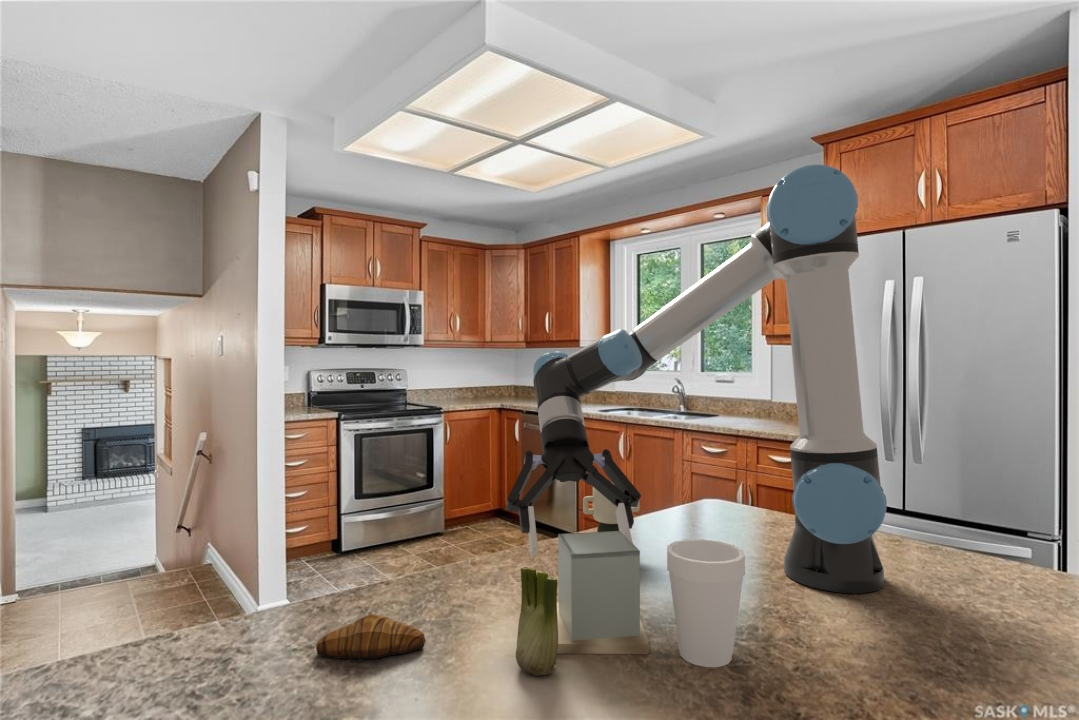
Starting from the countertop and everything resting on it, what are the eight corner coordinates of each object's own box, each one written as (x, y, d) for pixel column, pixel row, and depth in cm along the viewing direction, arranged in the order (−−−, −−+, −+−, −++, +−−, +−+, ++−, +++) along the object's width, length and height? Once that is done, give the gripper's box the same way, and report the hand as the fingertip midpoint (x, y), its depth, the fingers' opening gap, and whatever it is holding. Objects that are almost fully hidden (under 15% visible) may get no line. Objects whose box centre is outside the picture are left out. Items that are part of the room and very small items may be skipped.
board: (635, 610, 89) (635, 602, 89) (649, 654, 76) (649, 644, 76) (525, 610, 90) (525, 602, 90) (521, 653, 77) (521, 643, 77)
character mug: (633, 547, 119) (633, 481, 119) (645, 559, 112) (645, 488, 112) (579, 550, 117) (578, 483, 117) (587, 563, 110) (587, 491, 110)
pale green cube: (620, 607, 88) (619, 531, 88) (640, 635, 79) (639, 550, 79) (558, 611, 86) (558, 534, 86) (571, 641, 77) (571, 554, 77)
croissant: (309, 670, 73) (308, 629, 73) (322, 644, 80) (321, 606, 80) (423, 663, 75) (423, 622, 75) (427, 638, 81) (427, 600, 81)
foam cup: (749, 677, 71) (749, 565, 71) (667, 670, 73) (667, 560, 72) (739, 640, 80) (739, 541, 80) (667, 634, 82) (667, 537, 82)
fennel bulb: (564, 679, 71) (563, 575, 71) (522, 685, 69) (522, 580, 69) (548, 655, 76) (548, 559, 76) (510, 661, 75) (510, 563, 75)
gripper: (631, 442, 106) (659, 558, 91) (486, 445, 102) (492, 566, 87) (640, 415, 100) (672, 533, 86) (488, 417, 97) (494, 540, 82)
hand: (581, 550), depth 86 cm, fingers open, 13 cm apart
